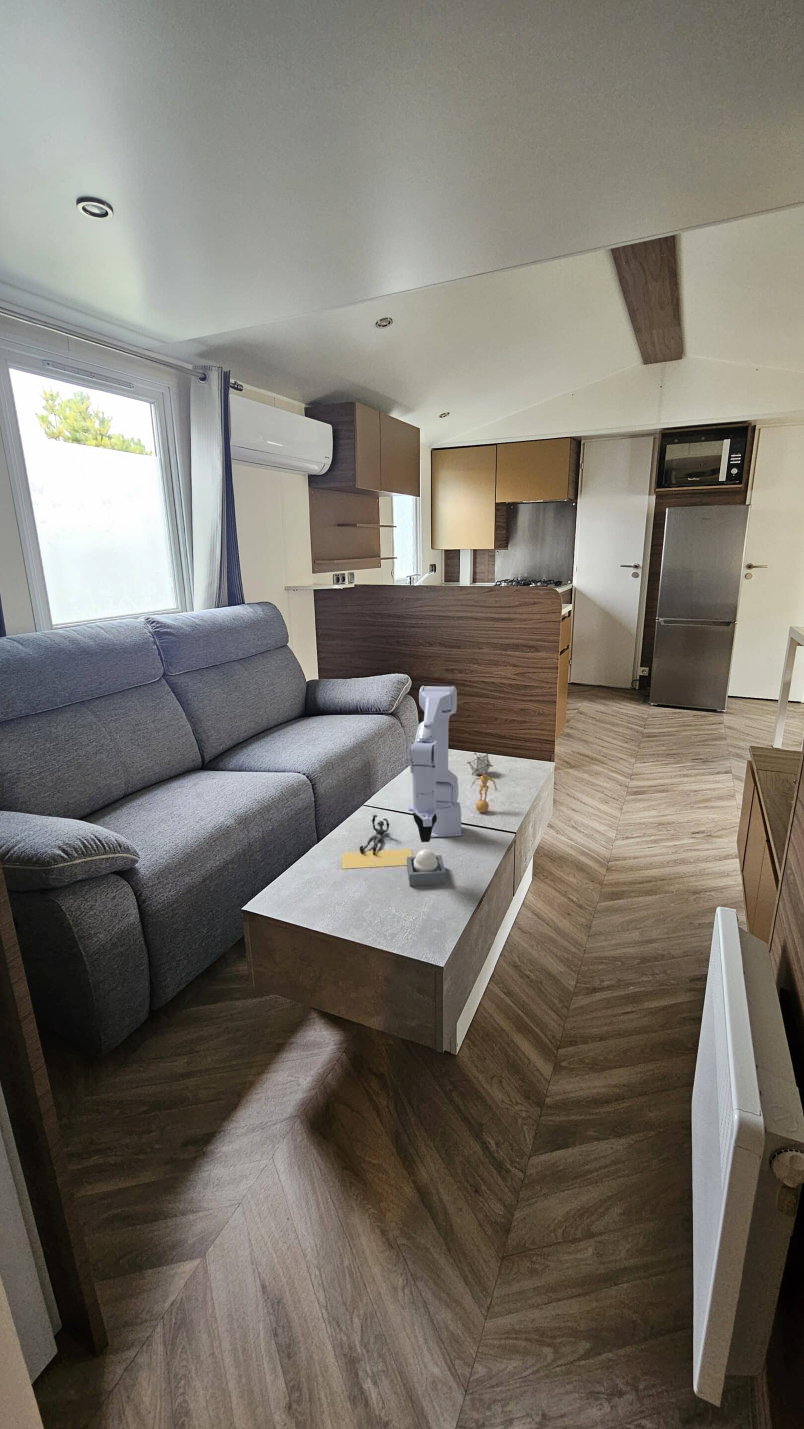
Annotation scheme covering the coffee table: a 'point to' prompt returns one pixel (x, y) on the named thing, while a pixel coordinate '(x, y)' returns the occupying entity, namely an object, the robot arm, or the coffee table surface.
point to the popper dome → (425, 861)
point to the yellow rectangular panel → (376, 858)
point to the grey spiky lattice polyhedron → (480, 764)
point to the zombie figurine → (378, 835)
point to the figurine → (483, 804)
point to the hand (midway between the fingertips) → (425, 840)
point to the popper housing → (426, 874)
